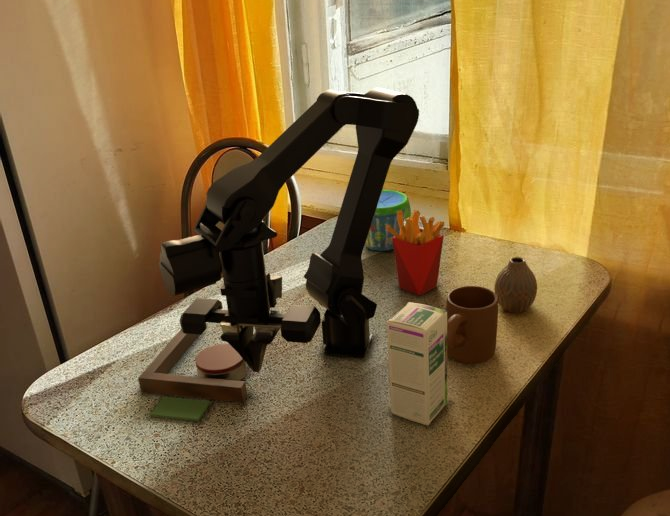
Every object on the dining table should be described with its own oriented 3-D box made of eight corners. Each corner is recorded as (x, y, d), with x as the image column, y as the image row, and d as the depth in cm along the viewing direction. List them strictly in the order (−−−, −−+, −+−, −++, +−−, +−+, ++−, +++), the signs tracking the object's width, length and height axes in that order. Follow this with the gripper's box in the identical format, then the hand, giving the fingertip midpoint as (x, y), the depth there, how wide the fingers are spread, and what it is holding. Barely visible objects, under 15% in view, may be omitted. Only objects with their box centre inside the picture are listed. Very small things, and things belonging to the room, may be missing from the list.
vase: (489, 313, 111) (491, 266, 107) (498, 295, 117) (500, 249, 113) (531, 319, 109) (535, 271, 105) (538, 300, 115) (542, 254, 110)
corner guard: (281, 340, 107) (280, 326, 106) (243, 402, 93) (241, 388, 91) (191, 332, 110) (188, 319, 109) (141, 392, 96) (137, 377, 95)
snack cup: (369, 264, 130) (367, 215, 126) (337, 248, 138) (334, 201, 133) (427, 241, 139) (427, 194, 134) (393, 227, 146) (392, 183, 142)
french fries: (416, 275, 125) (415, 199, 118) (451, 288, 120) (452, 209, 113) (383, 291, 120) (381, 213, 113) (419, 306, 115) (418, 224, 108)
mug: (471, 386, 94) (473, 328, 89) (422, 372, 97) (422, 315, 93) (503, 345, 102) (506, 291, 98) (457, 333, 106) (459, 280, 102)
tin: (253, 363, 101) (251, 345, 100) (237, 390, 95) (234, 372, 94) (209, 359, 103) (206, 341, 101) (190, 386, 97) (186, 368, 95)
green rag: (210, 403, 93) (210, 401, 93) (198, 421, 89) (198, 419, 89) (164, 398, 94) (164, 396, 94) (150, 416, 91) (150, 414, 91)
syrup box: (428, 427, 86) (428, 330, 79) (388, 413, 89) (385, 319, 82) (447, 403, 90) (449, 309, 84) (409, 391, 93) (408, 299, 87)
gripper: (327, 252, 94) (333, 346, 102) (204, 245, 98) (218, 336, 105) (305, 288, 85) (313, 389, 92) (169, 279, 89) (188, 377, 96)
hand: (257, 370), depth 97 cm, fingers closed
